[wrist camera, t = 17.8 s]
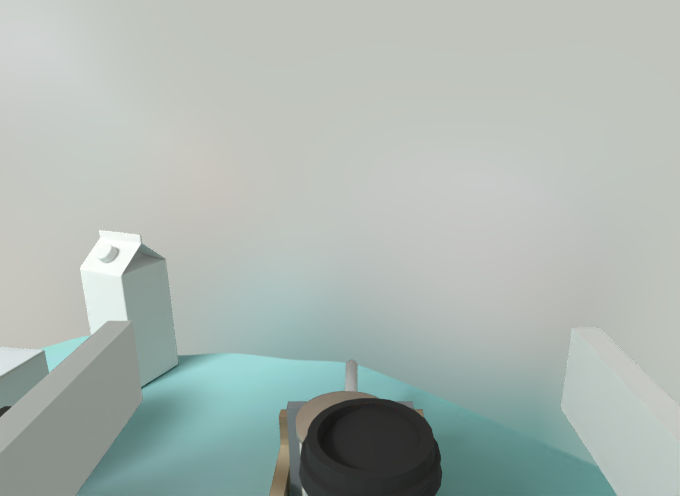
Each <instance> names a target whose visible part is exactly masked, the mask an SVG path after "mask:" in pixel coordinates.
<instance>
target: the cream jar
mask: <svg viewBox="0 0 680 496" xmlns="http://www.w3.org/2000/svg"><path fill="white" fill-rule="evenodd" d="M358 398H377V397H375V396H372V395H370V394H366V393H362V392H355V391H338V392H331V393H327V394H323V395H320V396H318V397H315V398H313V399H312V400H310V401H308V402H307V403H306V404H304V405H303V406H302V407H301V409H300V410H299V412H298V413H297V416H296V435H297V438H298V440H299V444H300V454H301V447H302V443H303V441H304V439H305V437H306V436H307V432H308V428H309V426H310V424H311V422H312V420H313V419H314V418H315V417H316V416H317V415H318V414H319V413H320V412H321V411H323V410H325V409H326V408H328V407H330V406H332V405H334V404H337V403H340V402H343V401H346V400H352V399H358ZM378 399H379V398H378ZM302 496H305V491H304V489H303V487H302Z"/></svg>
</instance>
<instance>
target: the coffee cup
mask: <svg viewBox="0 0 680 496" xmlns="http://www.w3.org/2000/svg"><path fill="white" fill-rule="evenodd" d="M440 461H441V455H440V451H439V447H438V444H437V442H436V440H435V439H434V437H433V433H432V429H431V427H430V425H429V424H428V422H427V421H426V420H425V418H424V417H422V416H421V415H420V414H419V413H418V412H416V411H415V410H413V409H411V408H409V407H407V406H405V405H404V404H401V403H397V402H394V401H391V400H385V399H378V398H358V399H352V400H346V401H343V402H340V403H337V404H334V405H332V406H330V407H328V408H326V409H325V410H323V411H321V412H320V413H319V414H318V415H317V416H316V417H315V418H314V419H313V420H312V422H311V424H310V426H309V428H308V432H307V436H306V437H305V439H304V441H303V443H302V447H301V454H300V468H299V476H300V480H301V484H302V487H303V489H304V491H305V496H436V493H437V491H438V489H439V488H440V486H441V478H442V470H441V466H440Z"/></svg>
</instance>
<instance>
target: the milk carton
mask: <svg viewBox="0 0 680 496" xmlns="http://www.w3.org/2000/svg"><path fill="white" fill-rule="evenodd" d="M99 234H100V239H99V241H98V242H97V244H96V245H95V246H94V248H93V249H92V251H91V252H90V254H89V255H88V257H87V258H86V260H85V261H84V263H83V264H82V266H81V267H80V271H81V278H82V284H83V290H84V295H85V301H86V307H87V313H88V319H89V325H90V331H91V335H92V334H93V333H95V332H96V331H97V330H98V329H99V328H100V327H101V326H102V325H103V324H105V323H106V322H107V321H133V327H134V335H135V343H136V351H137V358H138V366H139V374H140V382H141V387H142V386H144V385H146V384H147V383H149V382H150V381H152V380H154V379H155V378H157V377H158V376H160V375H162V374H163V373H165V372H166V371H168V370H170V369H171V368H173V367H174V366H176V365H178V356H177V348H176V340H175V332H174V323H173V315H172V308H171V299H170V290H169V282H168V274H167V266H166V259H165V258H163V257H162V256H160V255H159V254H157V253H156V252H154V251H153V250H151V249H150V248H148V247H147V246H145V245H144V244H142V239H141V235H140V234H132V233H123V232H115V231H107V230H99Z"/></svg>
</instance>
